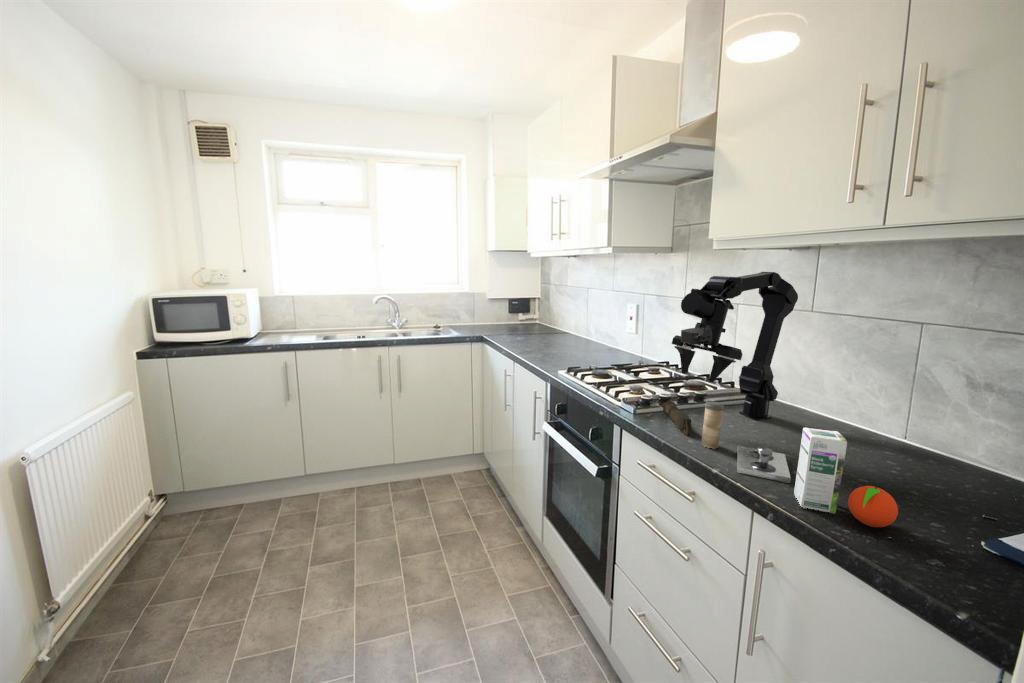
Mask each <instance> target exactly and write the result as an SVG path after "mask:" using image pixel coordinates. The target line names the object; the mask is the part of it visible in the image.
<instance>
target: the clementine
mask: <svg viewBox="0 0 1024 683" xmlns="http://www.w3.org/2000/svg"><path fill="white" fill-rule="evenodd" d="M847 499H848V500H847V504H848V506H847V507H848V509H849V511H850V513H851V515H852V516H853V517H854V518H855V519H856V520H858V521H859V522H860V523H862V524H863V525H865V526H867V527H872V528H884V527H887V526H889V525H892V524H893V523H894V522H895V521H896V519H897V517H898V514H899V508H898V505H897V503H896V502H897V501H896V500H895V499H894V497H893V496H892V495H891V494H889V493H888V492H887V491H886V490H884V489H882V488H880V487H877V486H873V485H865V486H864V485H863V486H860V487H857V488H855V489H854V490H853V491H851V493H850V494H849V496H848V498H847Z"/></svg>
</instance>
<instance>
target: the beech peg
mask: <svg viewBox="0 0 1024 683" xmlns="http://www.w3.org/2000/svg"><path fill="white" fill-rule="evenodd" d="M704 404H705V405H704V416H703V417H704V418H703V426H702V432H701V434H702V435H701V444H702V445H703V446H704V447H703V446H702V445H701V444H700V445H701V446H702V447H703V448H705V447H707V448H706V449H709V448H712V449H711V450H717V449H716V448H718V449H719V448H720V447H719V446H720V438H721V430H722V421H723V411H724V407H725V406H724V404H723V403H721V402H718V401H706V402H705V403H704Z"/></svg>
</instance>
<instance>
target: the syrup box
mask: <svg viewBox="0 0 1024 683" xmlns="http://www.w3.org/2000/svg"><path fill="white" fill-rule="evenodd" d="M799 448H800V449H799V455H798V462H797V470H796V476H795V484H794V491H793V495H794V498H795V499H796V498H797V499H796V501H797V500H798V501H797V503H798V502H799V503H798V505H799V504H800V505H799V506H801V507H803V508H802V509H807V508H808V509H809V510H813V509H814V510H813V511H818V510H819V512H825V513H828V512H829V514H833V515H836V513H837V507H838V502H839V501H838V500H839V494H840V488H841V484H842V476H843V471H844V466H845V458H846V454H847V453H846V452H847V448H848V441H847V439H846V438H845V437H844V436H843V435H842V434H841V433H840V432H839V431H837V430H825V429H819V428H812V427H811V428H809V427H803V428H802V434H801V441H800V447H799ZM801 507H800V508H801Z"/></svg>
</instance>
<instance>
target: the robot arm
mask: <svg viewBox="0 0 1024 683" xmlns="http://www.w3.org/2000/svg"><path fill="white" fill-rule="evenodd" d="M756 289H758V295H759V296H760V297H761V298H762V302H761V307H762V310H763V313H764V317H763V321H762V325H761V327H760V332H759V335H758V339H757V342H756V345H755V349H754V353H753V356H752V359H751V362H750V363H748V364H747V365H743V366H742V367H741V370H740V374H739V377H738V385H739V391H740V394H742V395H745V399H744V401H743V408H742V410H741V411H739V413H738V414H740V415H743V416H746V417H748V418H750V419H752V420H755V421H760V420H768V419H769V420H770V419H772V418H773V416H772V415H769V409H770V402H774V401H775V400H776V399H777V398H778V395H779V392H778V391H777V388H776V386H774V383H773V382H774V374H773V370H772V367H771V364H772V361H773V357H774V355H775V351H776V347H777V343H778V340H779V336H780V333H781V329H782V326H783V323H784V320H785V318H787V316H789V314H791V313H792V312H793V310H795V309H794V308H795V306H796V303H797V302H798V299H799V294H798V292H797V291H796V289H795V288H794V286H793V284H791V283H789V282H788V281H786V279H784V278H782V277H781V275H780V274H779V272H778V273H777V272H776V271H760V272H758V273H757V272H756V273H753V274H747V275H740V276H726V275H725V276H724V275H721V276H720V275H713V276H711V277H710V278H709V279H708V281H706V283H705V284H703V286H702V287H701V288H700V289H699V288H691V290H690V293H686V295H685V296H684V297H683V299H682V300H681V302H680V308H681V311H682V312H683V314H687V315H690V316H691V317H692V316H693V317H695V318H698V319H700V322H698V321H697V322H696V324H695V325H694V327H691V328H685V329H682V330H680V335H677V334H676V335H675V336H673V338H672V340H671V345H674V349H676V350H677V351H678V353H679V357H680V368H681V374H682V375H686V374H687V372H688V370H689V368H690V365H691V364H692V361H693V358H694V356H695V354H696V351H697V350H695V349H698V350H702V351H707V352H711V353H715V354H716V355H713V354H712V359H713V365H712V367H711V371H710V375H709V380H708V381H709V383H714V382H715V380H717V379H718V378H719V376H720V375H721V374H722V373H723V371H725V370H726V369H727V368H728V367H729V366H730V365H732V364H733V363H736V362H737V361H742V358H743V351H742V348H741V349H740V348H736V347H734V346H729V345H726V344H722V343H721V342H720V339H721V336H722V333H726V331H727V329H726V328H724V326H725V321H726V318H727V314H728V311H729V310H732V311H733V310H734V309H735V307H734V305H733V304H732V302H731V300H732V299H735V298H736V297H739V296H741V295H742V293H744V292H746V291H753V290H756ZM736 360H737V361H736Z"/></svg>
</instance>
